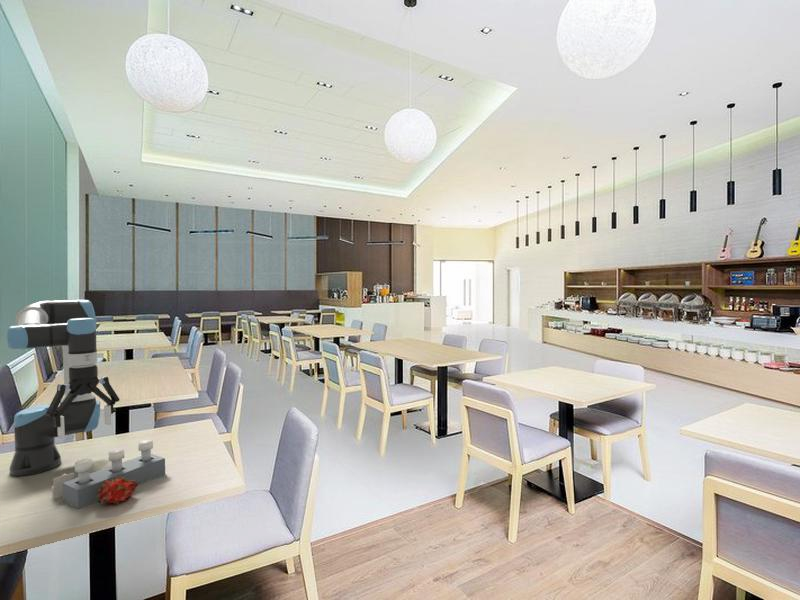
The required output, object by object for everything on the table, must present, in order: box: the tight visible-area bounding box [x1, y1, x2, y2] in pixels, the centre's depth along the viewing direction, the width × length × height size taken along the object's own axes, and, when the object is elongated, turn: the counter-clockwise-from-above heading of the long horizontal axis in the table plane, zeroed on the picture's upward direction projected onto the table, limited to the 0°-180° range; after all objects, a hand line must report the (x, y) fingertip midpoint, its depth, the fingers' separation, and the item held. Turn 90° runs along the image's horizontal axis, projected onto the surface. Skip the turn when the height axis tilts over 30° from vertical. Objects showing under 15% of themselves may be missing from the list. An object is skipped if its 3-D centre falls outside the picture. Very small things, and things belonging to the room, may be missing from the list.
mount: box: [62, 453, 166, 509], centre depth 148 cm, size 10×28×6 cm, turn 150°
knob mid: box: [107, 448, 125, 473], centre depth 148 cm, size 5×5×8 cm
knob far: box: [137, 439, 154, 462], centre depth 157 cm, size 5×5×8 cm
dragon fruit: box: [96, 477, 139, 505], centre depth 138 cm, size 8×8×12 cm
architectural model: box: [50, 472, 75, 500], centre depth 144 cm, size 3×7×7 cm, turn 141°
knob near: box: [74, 458, 93, 485], centre depth 140 cm, size 5×5×8 cm
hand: (85, 430), depth 140 cm, fingers open, 13 cm apart
